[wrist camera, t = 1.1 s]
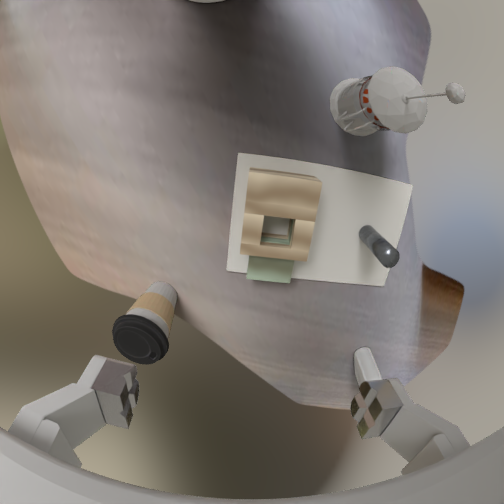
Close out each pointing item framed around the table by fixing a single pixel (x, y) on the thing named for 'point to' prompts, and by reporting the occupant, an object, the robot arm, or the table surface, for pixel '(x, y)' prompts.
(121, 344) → the coffee cup
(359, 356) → the white rounded slab
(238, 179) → the mat
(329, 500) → the robot arm
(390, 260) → the pin
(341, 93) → the french press
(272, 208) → the clevis
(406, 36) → the table surface
